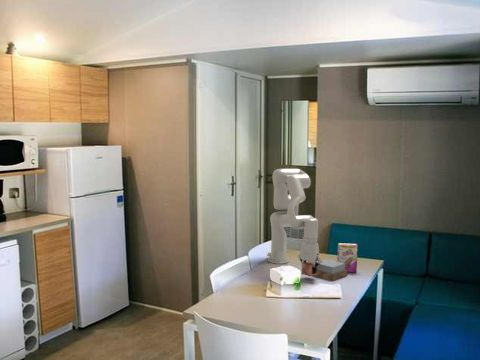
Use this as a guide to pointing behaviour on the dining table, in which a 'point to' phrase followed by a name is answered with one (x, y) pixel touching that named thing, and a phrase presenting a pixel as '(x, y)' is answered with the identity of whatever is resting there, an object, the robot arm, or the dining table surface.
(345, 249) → the candy bar box
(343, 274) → the walnut base slab
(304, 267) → the brick-red cube
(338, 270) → the grey top slab
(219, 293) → the dining table surface
